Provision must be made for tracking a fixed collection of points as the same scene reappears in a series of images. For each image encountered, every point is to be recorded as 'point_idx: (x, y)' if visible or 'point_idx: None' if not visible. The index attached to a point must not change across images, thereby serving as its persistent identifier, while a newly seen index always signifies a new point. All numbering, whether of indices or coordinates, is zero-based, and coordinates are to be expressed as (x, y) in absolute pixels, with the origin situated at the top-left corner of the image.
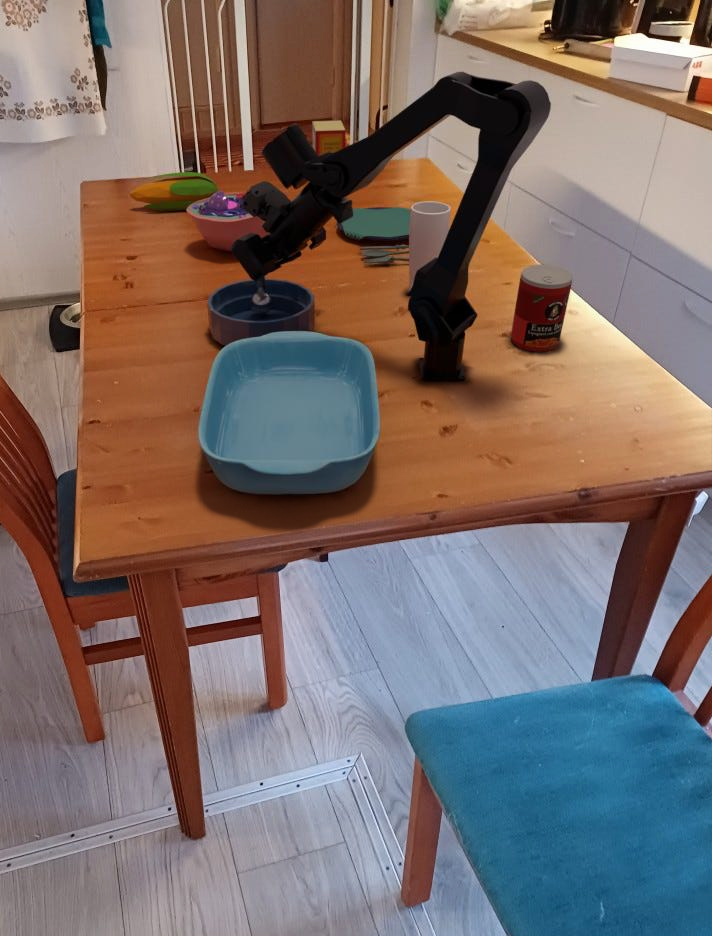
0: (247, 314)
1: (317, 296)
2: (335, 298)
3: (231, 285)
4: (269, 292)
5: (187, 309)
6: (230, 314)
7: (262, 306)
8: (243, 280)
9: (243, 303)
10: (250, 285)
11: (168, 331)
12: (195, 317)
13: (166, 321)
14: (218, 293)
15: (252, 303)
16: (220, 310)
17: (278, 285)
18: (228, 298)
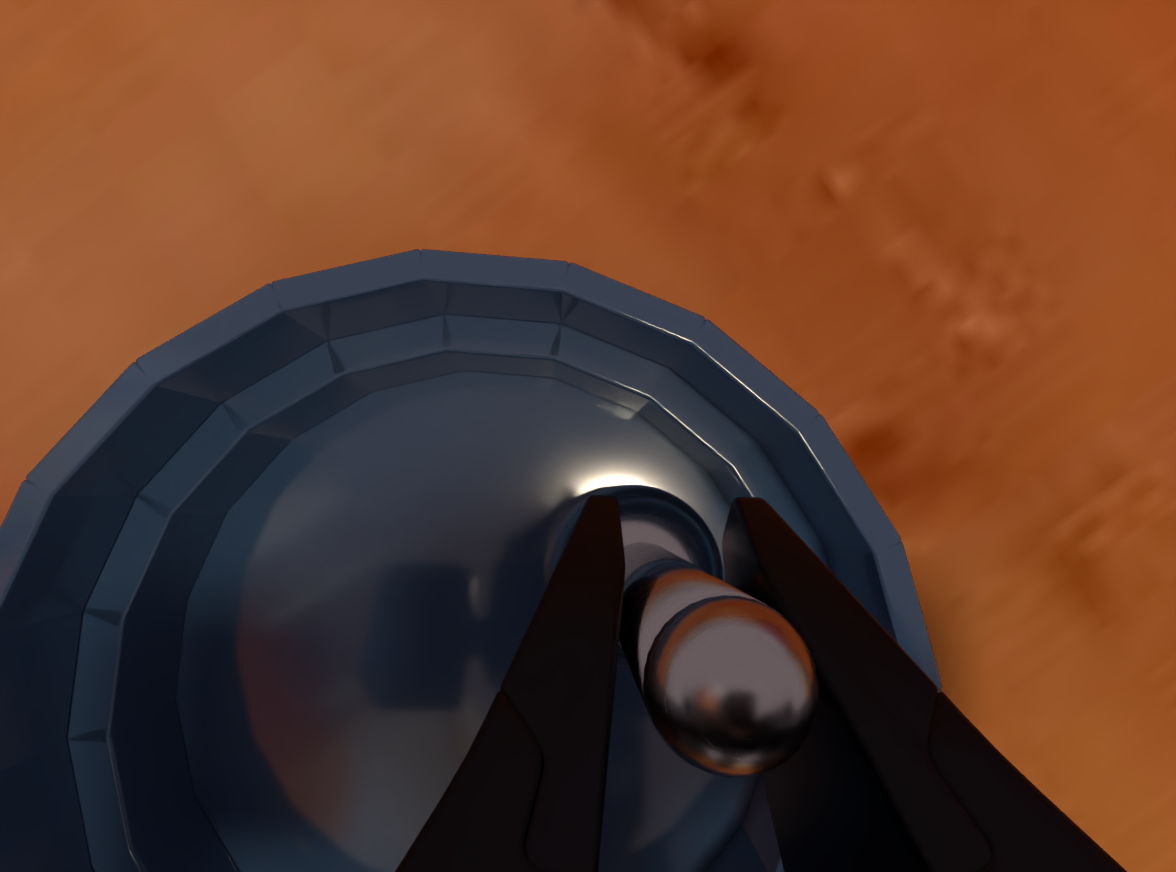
0: (603, 452)
1: (1130, 657)
2: (1172, 784)
3: (582, 304)
4: (815, 525)
5: (501, 43)
6: (515, 371)
7: None
8: (722, 336)
9: (632, 398)
10: (738, 399)
11: (176, 140)
12: (431, 159)
13: (288, 40)
14: (411, 290)
15: (551, 550)
16: (375, 370)
17: (871, 610)
18: (542, 318)
